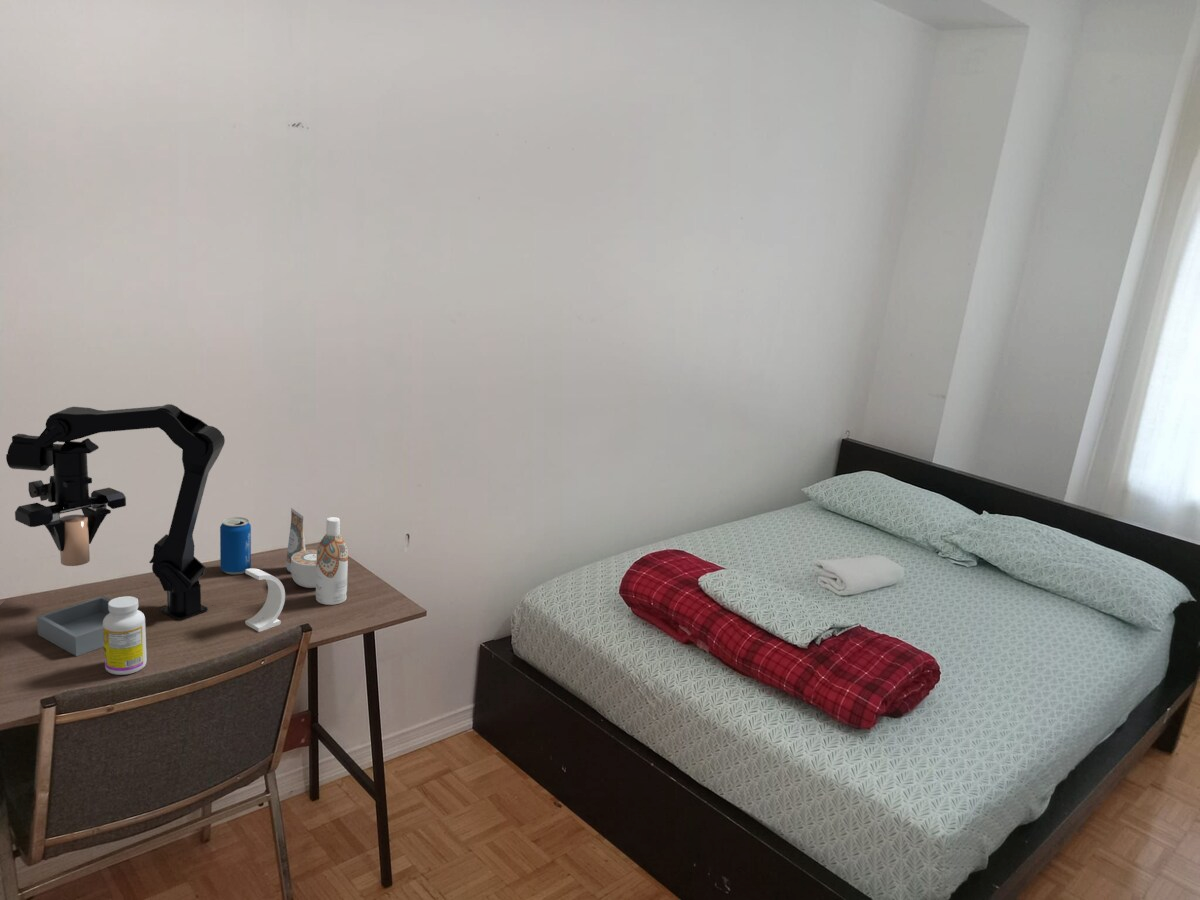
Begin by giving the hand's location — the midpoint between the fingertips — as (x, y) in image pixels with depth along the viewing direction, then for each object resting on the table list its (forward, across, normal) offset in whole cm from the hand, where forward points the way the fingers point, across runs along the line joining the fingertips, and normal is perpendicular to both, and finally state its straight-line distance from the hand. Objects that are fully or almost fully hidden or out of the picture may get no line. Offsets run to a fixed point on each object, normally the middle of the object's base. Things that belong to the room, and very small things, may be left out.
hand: (74, 547), depth 175 cm
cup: (+3, 0, 0) cm, 3 cm away
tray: (+13, +5, +13) cm, 19 cm away
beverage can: (+13, -32, +7) cm, 35 cm away
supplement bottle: (+13, +8, +29) cm, 33 cm away
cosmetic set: (+13, -39, +25) cm, 48 cm away
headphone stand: (+13, -19, +33) cm, 40 cm away
